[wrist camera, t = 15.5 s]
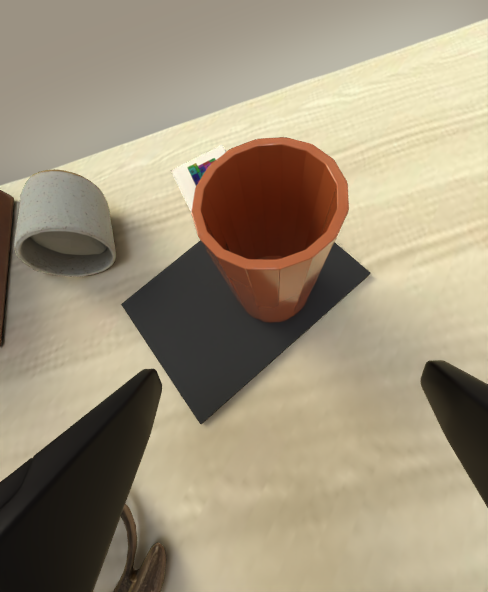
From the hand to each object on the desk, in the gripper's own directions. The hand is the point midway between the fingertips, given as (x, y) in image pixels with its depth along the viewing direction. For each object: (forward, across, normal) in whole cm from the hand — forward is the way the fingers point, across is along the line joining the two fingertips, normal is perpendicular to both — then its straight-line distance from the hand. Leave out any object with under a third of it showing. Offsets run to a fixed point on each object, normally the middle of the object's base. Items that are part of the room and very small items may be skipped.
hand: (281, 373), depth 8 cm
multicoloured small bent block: (+24, +7, -6) cm, 26 cm away
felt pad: (+14, +3, +4) cm, 15 cm away
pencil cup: (+14, 0, +4) cm, 14 cm away
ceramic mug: (+19, +21, 0) cm, 28 cm away
